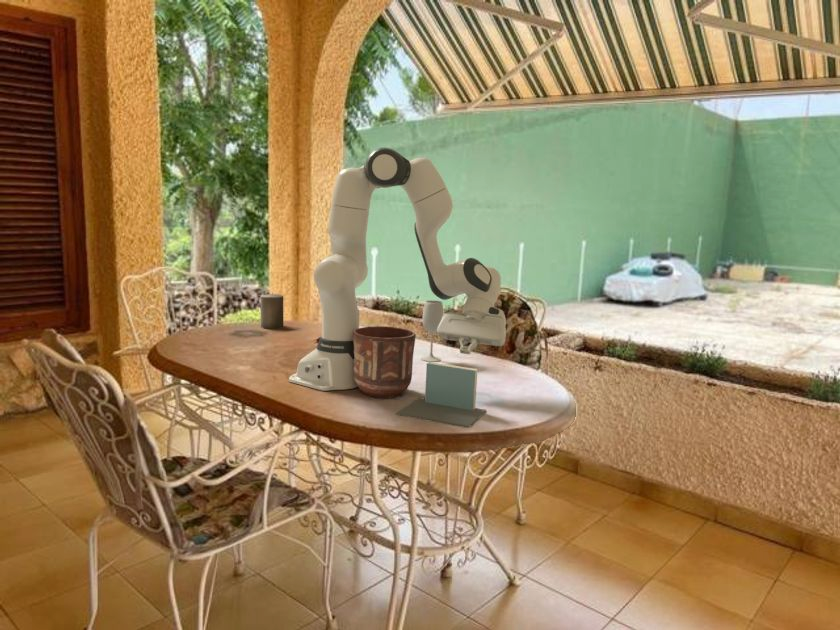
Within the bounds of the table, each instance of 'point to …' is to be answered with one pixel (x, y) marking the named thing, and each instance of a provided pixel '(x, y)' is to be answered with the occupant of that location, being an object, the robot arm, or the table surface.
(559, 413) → the table surface
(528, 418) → the table surface
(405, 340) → the pottery
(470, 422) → the mat
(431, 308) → the wineglass
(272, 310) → the pillar candle
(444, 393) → the tile
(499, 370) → the table surface
